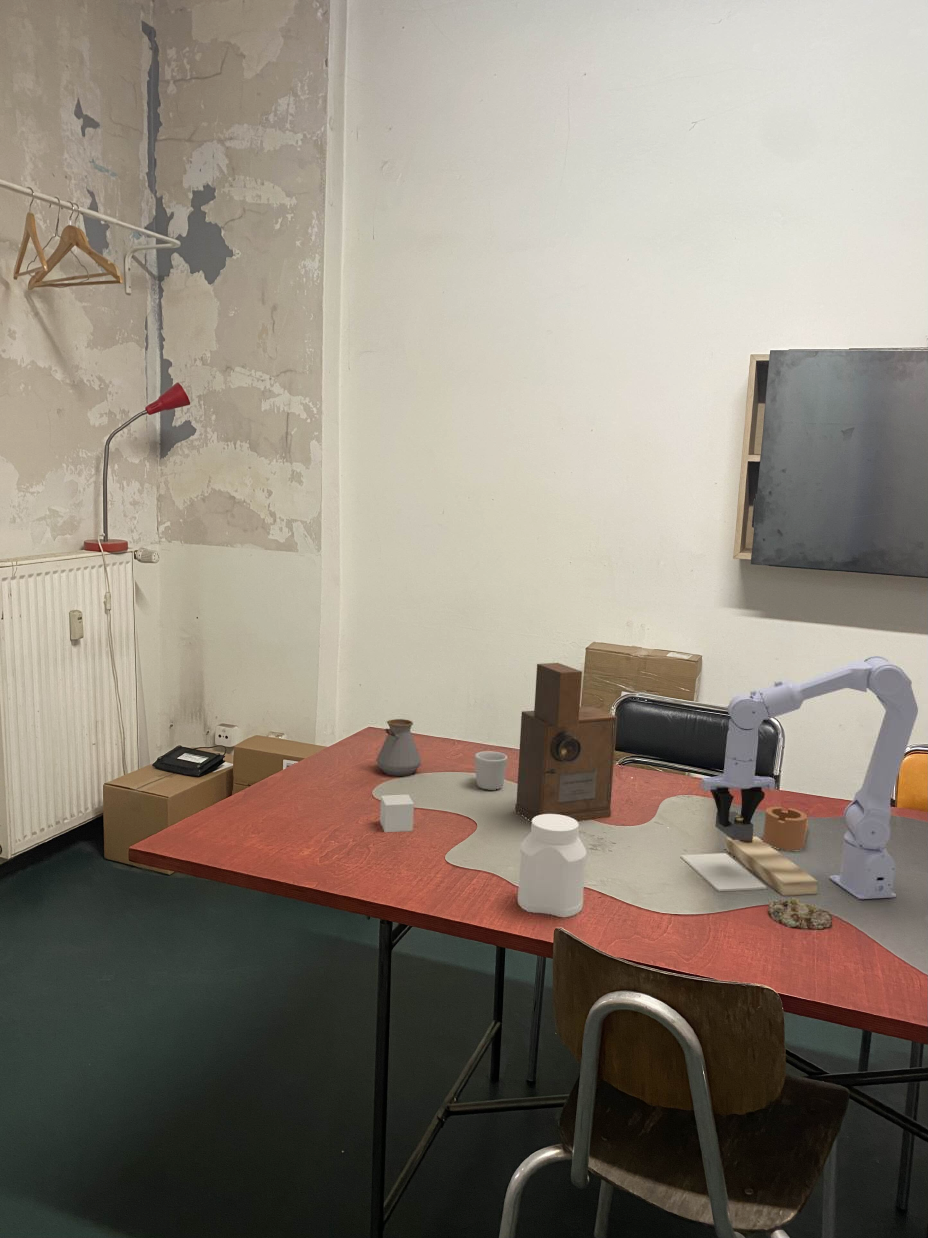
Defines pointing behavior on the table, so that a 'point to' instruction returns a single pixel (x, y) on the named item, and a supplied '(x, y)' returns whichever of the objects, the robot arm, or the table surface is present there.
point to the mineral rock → (799, 914)
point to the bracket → (785, 828)
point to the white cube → (396, 813)
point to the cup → (490, 769)
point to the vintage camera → (565, 750)
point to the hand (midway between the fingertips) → (734, 824)
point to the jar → (552, 867)
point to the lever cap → (736, 827)
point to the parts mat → (723, 872)
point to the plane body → (772, 866)
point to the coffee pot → (399, 749)
